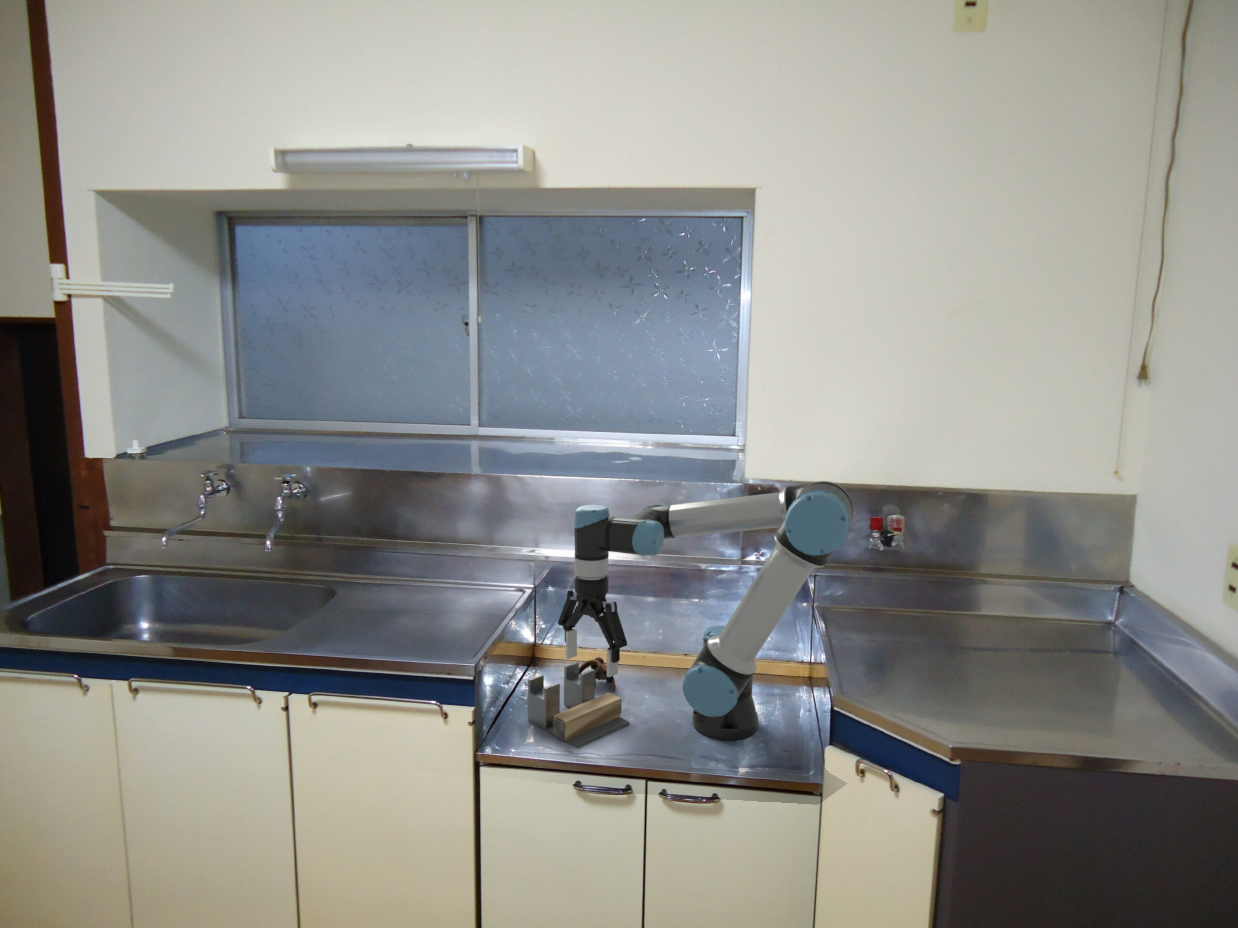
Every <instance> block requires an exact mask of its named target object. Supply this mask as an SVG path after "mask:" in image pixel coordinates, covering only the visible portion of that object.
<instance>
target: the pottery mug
mask: <svg viewBox="0 0 1238 928" xmlns="http://www.w3.org/2000/svg"><path fill="white" fill-rule="evenodd" d="M588 668H590V670H592V669H594V670H595V689H596V688H597V685H596V684H597V681H605V682H606V684H611V685H610V686H611V687H612V692H615V691H616V689H617V685H616V680H615V677H614V676H611V677H607V664H605V662H604V659H603V657H600V656H599V657H595V658H594V659H589V660H587V661H585V662H584V663H582V664H581V665H579V675H580V674H581V673H584V672H585V670H586V669H588ZM596 680H597V681H596Z"/></svg>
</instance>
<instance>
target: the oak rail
mask: <svg viewBox="0 0 1238 928" xmlns="http://www.w3.org/2000/svg"><path fill="white" fill-rule="evenodd" d="M621 714H622V698H621V697H619V696H618V695H616V694H613V693H611V692H606V693H604V694H602V695H599V696H597V697H595V699H592V700H590V701H587V702H585V703H583V704H580V705H578V706H575V707H573V708H571V709H570V708H568V709H566V710H563V711H560V713H558V714H556V715H554V718H553V734H552V735H554V736H555V735H556V736H555V737H557V738H560V739H561V740H562V739H563V741H564V740H565V741H564V742H566V740H569V739H571V738H573V737H575V736H578V735H580V734H582V733H584V732H586V731H589V730H591V729H593V728H595V727H598V726H600V725H602V724H604V723H606V722H609V721H611V720H613V719H615V718H618V717H621Z"/></svg>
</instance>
